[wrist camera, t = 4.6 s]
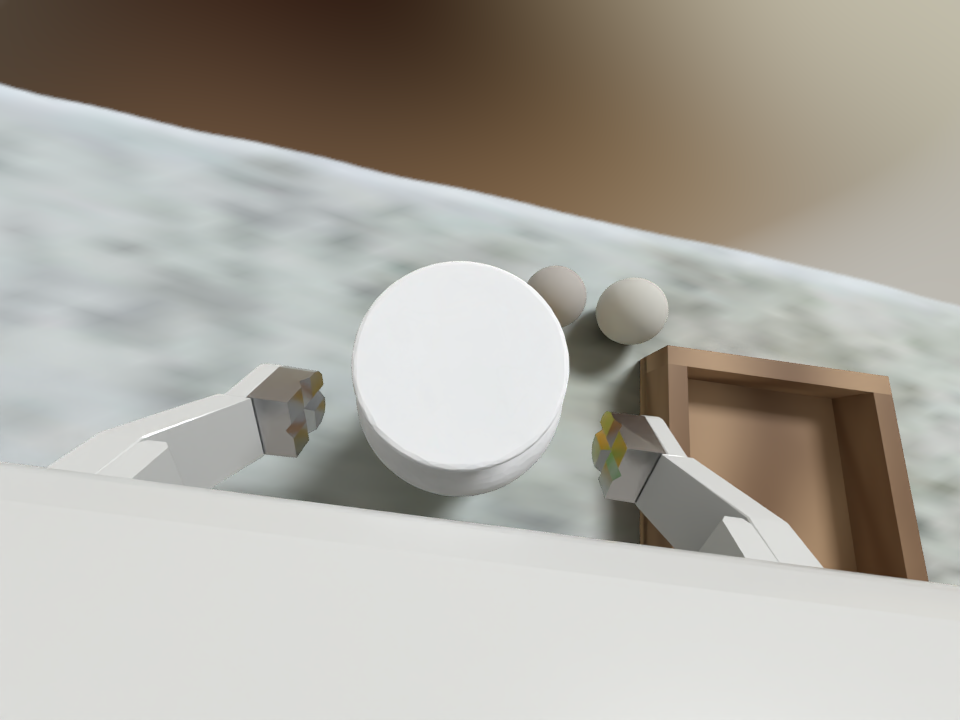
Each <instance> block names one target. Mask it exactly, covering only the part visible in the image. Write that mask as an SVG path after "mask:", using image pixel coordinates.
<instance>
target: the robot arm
mask: <svg viewBox="0 0 960 720" xmlns="http://www.w3.org/2000/svg"><path fill="white" fill-rule="evenodd" d="M322 385H323V379H322V374H321V373H320V372H319V371H315V370H308V369H302V368H296V367H290V366H282V365H276V364H269V363H264V364H260V365H259V366H258V367H257V368H256V369H254V370H253V371H252V372H251V373H249V374H248V375H247V376H246V377H245V378H243V379H242V380H241V381H240V382H239V383H237V384H236V385H235V386H234V387H232V388H231V389H230V390H229V391H228V392H226V393H225V394H216V395H212V396H209V397H206V398H203V399H200V400H197V401H194V402H191V403H188V404H185V405H182V406H178V407H175V408H172V409H169V410H166V411H163V412H160V413H157V414H154V415H151V416H148V417H144V418H141V419H138V420H135V421H132V422H129V423H126V424H123V425H120V426H117V427H114V428H110V429H107V430H104V431H101V432H99V433H97V434H96V435H94V436H93V437H91V438H90V439H88V440H87V441H85V442H84V443H82V444H81V445H79V446H78V447H76V448H75V449H73V450H72V451H70V452H69V453H67V454H66V455H64V456H63V457H61V458H60V459H58V460H57V461H55V462H54V463H52V464H51V465H49V466H48V467H38V466H31V465H23V464H15V463H8V462H0V720H960V586H959V585H952V584H944V583H936V582H928V581H920V580H913V579H905V578H897V577H889V576H882V575H874V574H866V573H858V572H851V571H843V570H835V569H828V568H823V566H822V565H821V564H820V563H819V561H818V560H817V559H816V558H815V557H814V555H813V554H812V553H811V552H810V550H809V549H808V548H807V547H806V545H805V544H804V543H803V542H802V540H801V539H800V538H799V537H798V535H797V534H796V533H795V532H794V530H793V529H792V528H791V527H790V525H789V524H788V523H787V522H785V521H784V520H782V519H781V518H779V517H778V516H776V515H775V514H774V513H772V512H771V511H769V510H768V509H766V508H765V507H763V506H762V505H761V504H759V503H758V502H756V501H755V500H753V499H752V498H750V497H749V496H747V495H746V494H745V493H743V492H742V491H740V490H739V489H737V488H736V487H734V486H733V485H731V484H730V483H729V482H727V481H726V480H724V479H723V478H721V477H720V476H718V475H717V474H716V473H714V472H713V471H711V470H710V469H708V468H707V467H705V466H704V465H702V464H701V463H700V462H698V461H697V460H695V459H694V458H689V457H687V456H686V454H685V453H684V451H683V450H682V448H681V447H680V445H679V443H678V442H677V440H676V439H675V437H674V436H673V434H672V433H671V431H670V430H669V428H668V427H667V425H666V423H665V422H664V420H663V419H661V418H660V417H655V416H645V415H634V414H625V413H617V412H609V411H606V412H605V414H604V415H603V417H602V419H601V422H600V423H601V425H602V428H603V429H602V430H601V431H600V432H598V433H597V434H596V435H595V438H594V441H593V444H592V460H593V463H594V466H595V467H596V468H597V469H598V470H599V471H600V472H601V474H600V476H599V482H600V485H601V488H602V491H603V495H604V498H606V499H612V500H618V501H625V502H631V503H636V504H635V505H636V506H637V507H638V508H639V509H640V510H641V512H642V513H643V514H644V515H645V516H646V517H647V518H648V519H649V520H650V522H651V523H652V524H653V525H654V526H655V527H656V528H657V529H658V530H659V532H660V533H661V534H662V535H663V536H664V537H665V538H666V539H667V541H668V542H669V543H670V544H671V545H672V546H673V547H674V548H675V549H673V548H665V547H657V546H649V545H641V544H633V543H625V542H617V541H609V540H602V539H594V538H586V537H579V536H571V535H564V534H556V533H548V532H541V531H533V530H526V529H518V528H510V527H503V526H495V525H487V524H480V523H472V522H464V521H456V520H449V519H441V518H433V517H425V516H417V515H410V514H402V513H394V512H386V511H378V510H371V509H363V508H355V507H347V506H340V505H332V504H324V503H316V502H309V501H301V500H293V499H285V498H278V497H270V496H262V495H254V494H247V493H239V492H231V491H223V490H216V489H211V488H212V487H214V486H216V485H217V484H219V483H221V482H222V481H224V480H226V479H227V478H229V477H230V476H232V475H234V474H235V473H237V472H239V471H240V470H242V469H243V468H245V467H247V466H248V465H250V464H252V463H253V462H255V461H257V460H258V459H260V458H261V457H263V456H264V454H267V455H276V456H286V457H296V458H297V457H298V455H299V454H300V452H301V451H302V449H303V448H304V447H305V445H306V444H307V442H308V441H309V437H308V433H310V432H312V431H314V430H316V429H317V428H318V426H319V425H320V423H321V422H322V419H323V416H324V413H325V397H324V396H323V395H322V394H321V392H320V391H319V389H320V388H321V387H322Z"/></svg>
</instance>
